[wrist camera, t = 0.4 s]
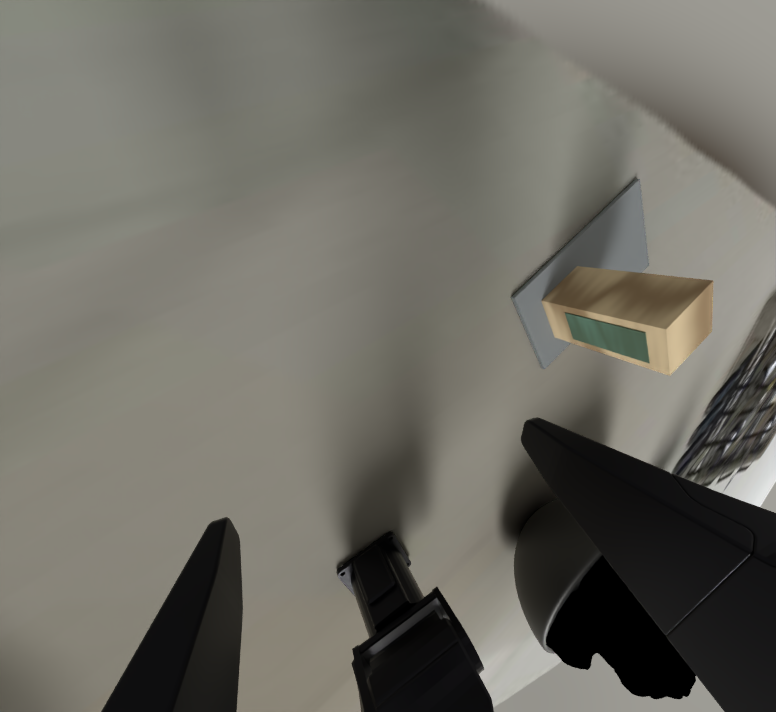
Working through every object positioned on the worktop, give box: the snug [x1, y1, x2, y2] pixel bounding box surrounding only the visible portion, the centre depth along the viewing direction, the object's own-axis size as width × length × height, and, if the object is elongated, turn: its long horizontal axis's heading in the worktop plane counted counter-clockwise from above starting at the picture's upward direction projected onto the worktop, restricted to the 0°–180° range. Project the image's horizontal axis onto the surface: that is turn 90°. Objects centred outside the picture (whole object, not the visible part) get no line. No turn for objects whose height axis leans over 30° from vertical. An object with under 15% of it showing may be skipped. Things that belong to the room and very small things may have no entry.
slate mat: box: [511, 179, 649, 369], centre depth 31 cm, size 17×10×1 cm, turn 126°
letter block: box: [542, 266, 713, 376], centre depth 27 cm, size 5×5×10 cm
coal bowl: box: [514, 499, 696, 699], centre depth 37 cm, size 20×20×19 cm
